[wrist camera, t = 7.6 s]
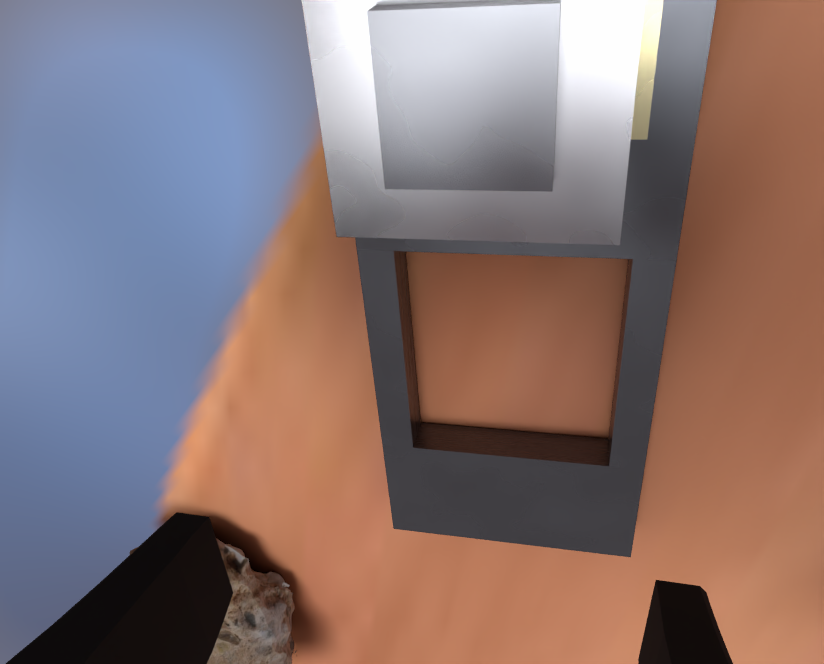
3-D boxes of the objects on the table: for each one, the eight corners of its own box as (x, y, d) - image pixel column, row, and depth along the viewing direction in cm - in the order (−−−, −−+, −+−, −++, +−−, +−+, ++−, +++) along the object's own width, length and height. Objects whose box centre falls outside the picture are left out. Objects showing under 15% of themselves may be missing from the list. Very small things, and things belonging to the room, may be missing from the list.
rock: (49, 569, 31) (99, 811, 29) (48, 564, 25) (111, 870, 23) (243, 509, 35) (298, 716, 33) (283, 492, 29) (352, 744, 27)
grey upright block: (632, -125, 13) (658, -102, 8) (611, 117, 15) (620, 258, 10) (397, -106, 14) (279, -75, 9) (413, 118, 16) (329, 247, 11)
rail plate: (759, -359, 12) (776, -379, 11) (628, 528, 24) (630, 559, 23) (305, -296, 13) (282, -306, 12) (401, 503, 26) (392, 530, 25)
